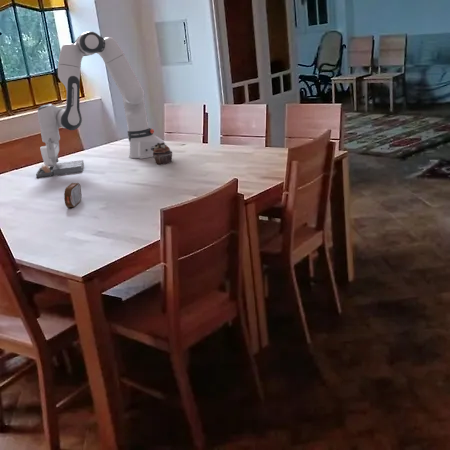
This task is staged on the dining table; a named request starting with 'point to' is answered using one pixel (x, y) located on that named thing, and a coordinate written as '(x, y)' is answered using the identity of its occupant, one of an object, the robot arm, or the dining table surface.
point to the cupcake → (162, 154)
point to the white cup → (45, 156)
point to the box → (43, 174)
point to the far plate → (68, 167)
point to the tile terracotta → (46, 169)
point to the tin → (72, 195)
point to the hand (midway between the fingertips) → (55, 164)
